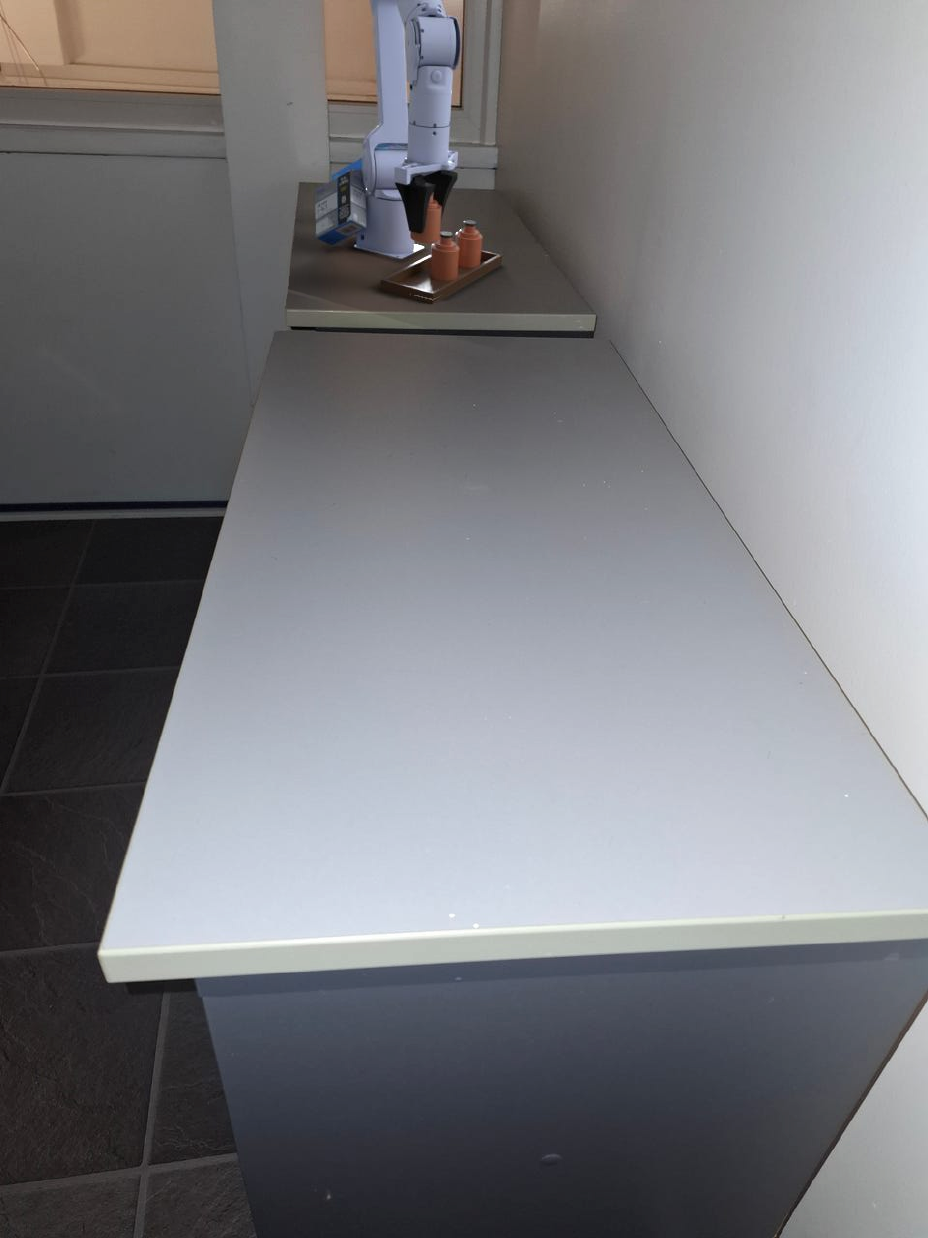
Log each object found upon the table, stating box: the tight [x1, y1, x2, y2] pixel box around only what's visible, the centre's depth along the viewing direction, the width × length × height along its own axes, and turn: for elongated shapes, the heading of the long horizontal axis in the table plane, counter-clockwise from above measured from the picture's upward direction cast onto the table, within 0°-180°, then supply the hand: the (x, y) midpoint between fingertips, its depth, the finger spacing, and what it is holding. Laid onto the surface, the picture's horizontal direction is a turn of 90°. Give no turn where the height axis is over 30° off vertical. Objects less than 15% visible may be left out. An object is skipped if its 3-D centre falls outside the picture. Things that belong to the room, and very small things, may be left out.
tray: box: [379, 249, 503, 305], centre depth 136 cm, size 23×9×2 cm, turn 152°
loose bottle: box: [410, 191, 442, 244], centre depth 125 cm, size 4×4×6 cm
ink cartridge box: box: [314, 157, 366, 246], centre depth 141 cm, size 9×4×12 cm
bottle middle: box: [430, 231, 459, 281], centre depth 134 cm, size 4×4×6 cm
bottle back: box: [454, 219, 484, 268], centre depth 140 cm, size 4×4×6 cm
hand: (424, 228), depth 126 cm, fingers closed on loose bottle, 4 cm apart
